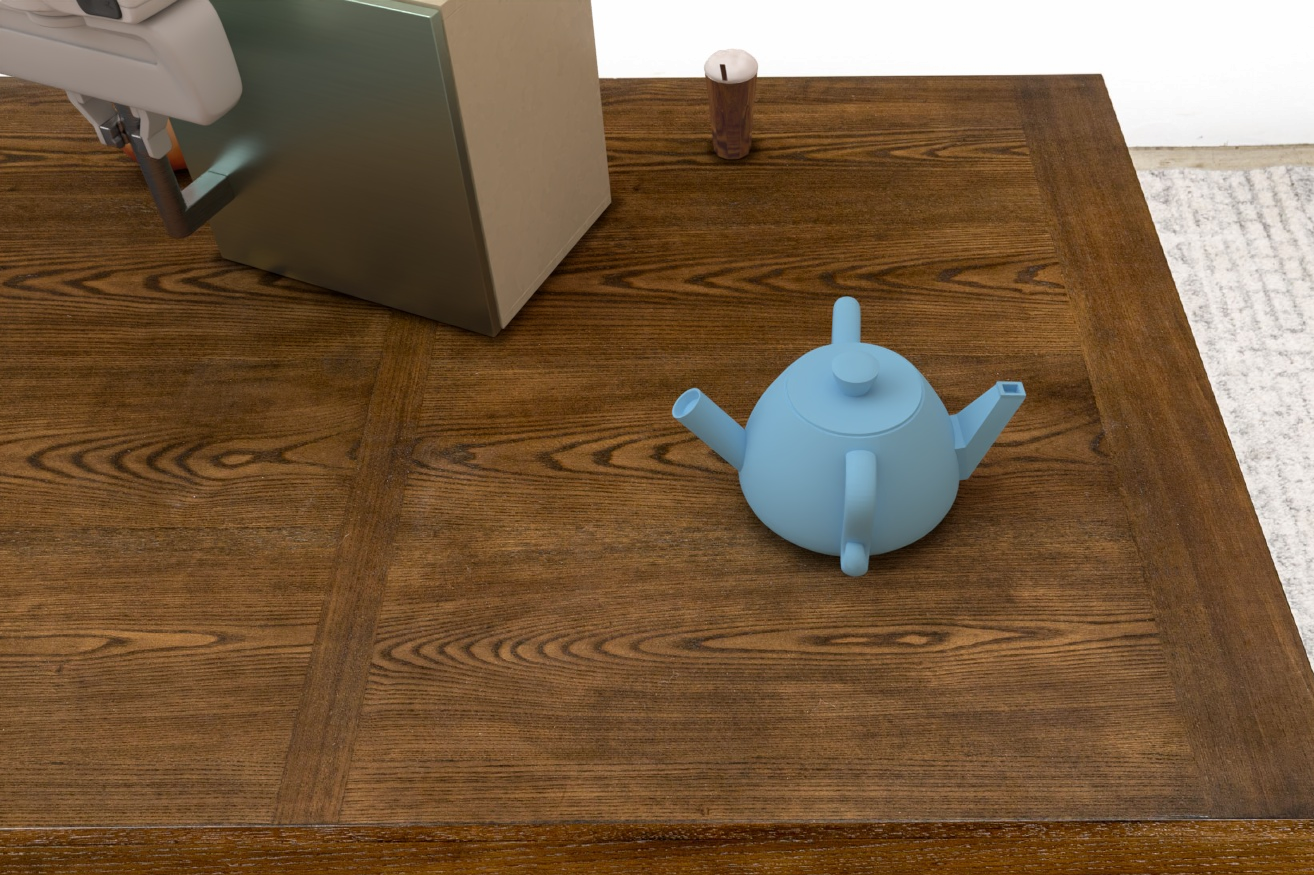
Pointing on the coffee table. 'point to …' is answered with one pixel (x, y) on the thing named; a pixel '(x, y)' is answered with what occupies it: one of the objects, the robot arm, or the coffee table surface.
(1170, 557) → the coffee table surface
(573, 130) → the box
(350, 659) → the coffee table surface
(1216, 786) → the coffee table surface
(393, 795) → the coffee table surface
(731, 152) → the milkshake
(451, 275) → the fridge door
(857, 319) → the teapot
